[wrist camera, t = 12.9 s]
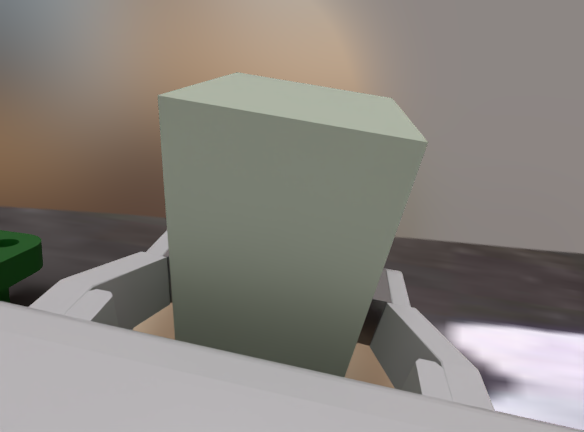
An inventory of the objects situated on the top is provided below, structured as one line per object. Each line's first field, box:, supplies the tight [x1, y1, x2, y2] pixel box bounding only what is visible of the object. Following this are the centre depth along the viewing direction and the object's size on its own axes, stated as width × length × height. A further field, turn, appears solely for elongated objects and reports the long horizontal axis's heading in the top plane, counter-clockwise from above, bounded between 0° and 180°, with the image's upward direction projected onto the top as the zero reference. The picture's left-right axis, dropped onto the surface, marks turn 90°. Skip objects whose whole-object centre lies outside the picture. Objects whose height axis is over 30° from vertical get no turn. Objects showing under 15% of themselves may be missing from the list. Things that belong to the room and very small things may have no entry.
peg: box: [158, 73, 428, 377], centre depth 10 cm, size 4×4×12 cm
